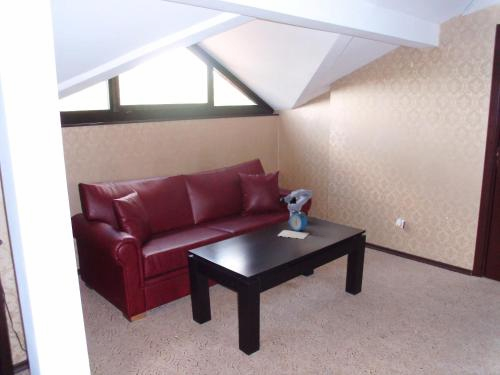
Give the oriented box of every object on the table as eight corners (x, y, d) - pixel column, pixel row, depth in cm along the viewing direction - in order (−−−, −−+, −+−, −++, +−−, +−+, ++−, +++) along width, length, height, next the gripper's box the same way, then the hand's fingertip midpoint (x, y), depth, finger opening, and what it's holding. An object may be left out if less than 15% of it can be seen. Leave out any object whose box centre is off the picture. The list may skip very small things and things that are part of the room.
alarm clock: (288, 229, 313) (289, 210, 311) (293, 228, 318) (294, 209, 315) (301, 232, 304) (302, 213, 302) (307, 231, 308) (308, 212, 306)
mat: (283, 230, 312) (283, 230, 312) (309, 233, 304) (309, 233, 303) (277, 236, 299) (277, 235, 299) (303, 239, 291) (303, 238, 291)
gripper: (282, 193, 327) (276, 197, 316) (299, 193, 321) (293, 197, 309) (283, 201, 329) (277, 206, 317) (300, 201, 322) (294, 206, 310)
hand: (285, 202), depth 313 cm, fingers open, 7 cm apart
